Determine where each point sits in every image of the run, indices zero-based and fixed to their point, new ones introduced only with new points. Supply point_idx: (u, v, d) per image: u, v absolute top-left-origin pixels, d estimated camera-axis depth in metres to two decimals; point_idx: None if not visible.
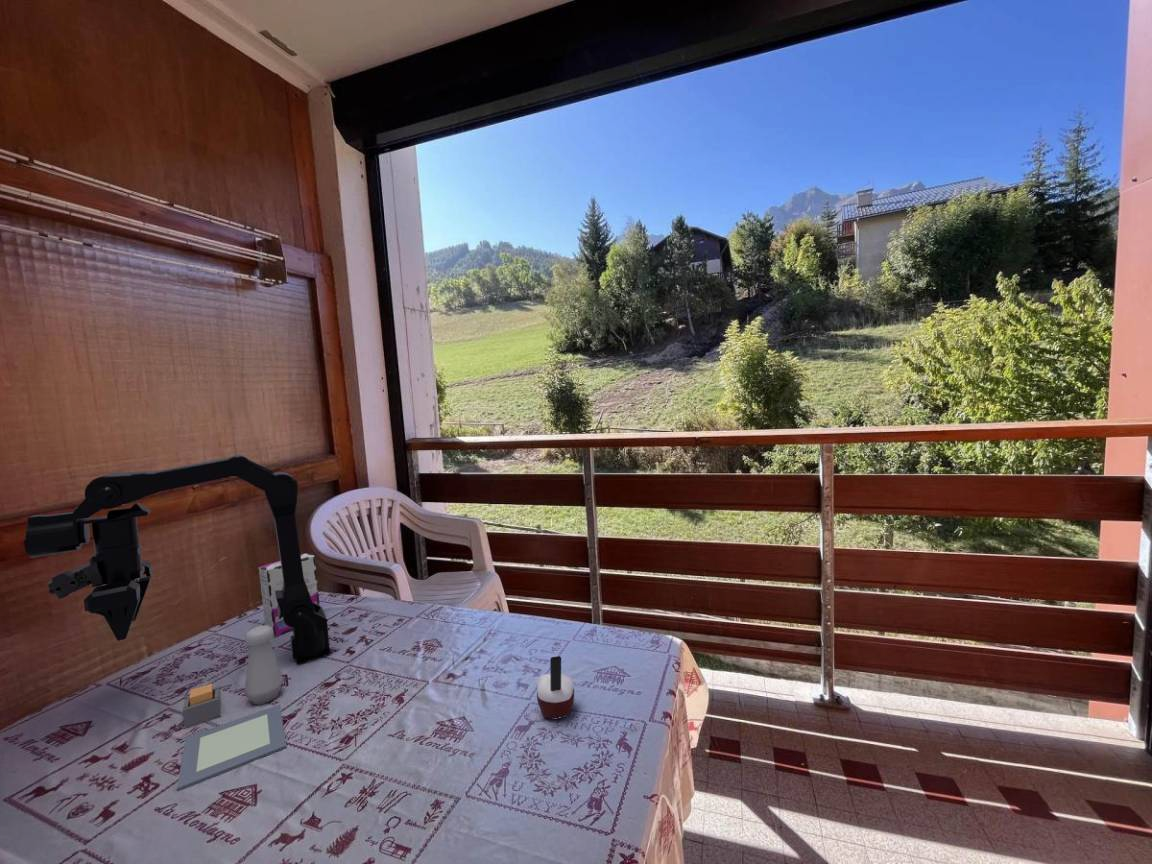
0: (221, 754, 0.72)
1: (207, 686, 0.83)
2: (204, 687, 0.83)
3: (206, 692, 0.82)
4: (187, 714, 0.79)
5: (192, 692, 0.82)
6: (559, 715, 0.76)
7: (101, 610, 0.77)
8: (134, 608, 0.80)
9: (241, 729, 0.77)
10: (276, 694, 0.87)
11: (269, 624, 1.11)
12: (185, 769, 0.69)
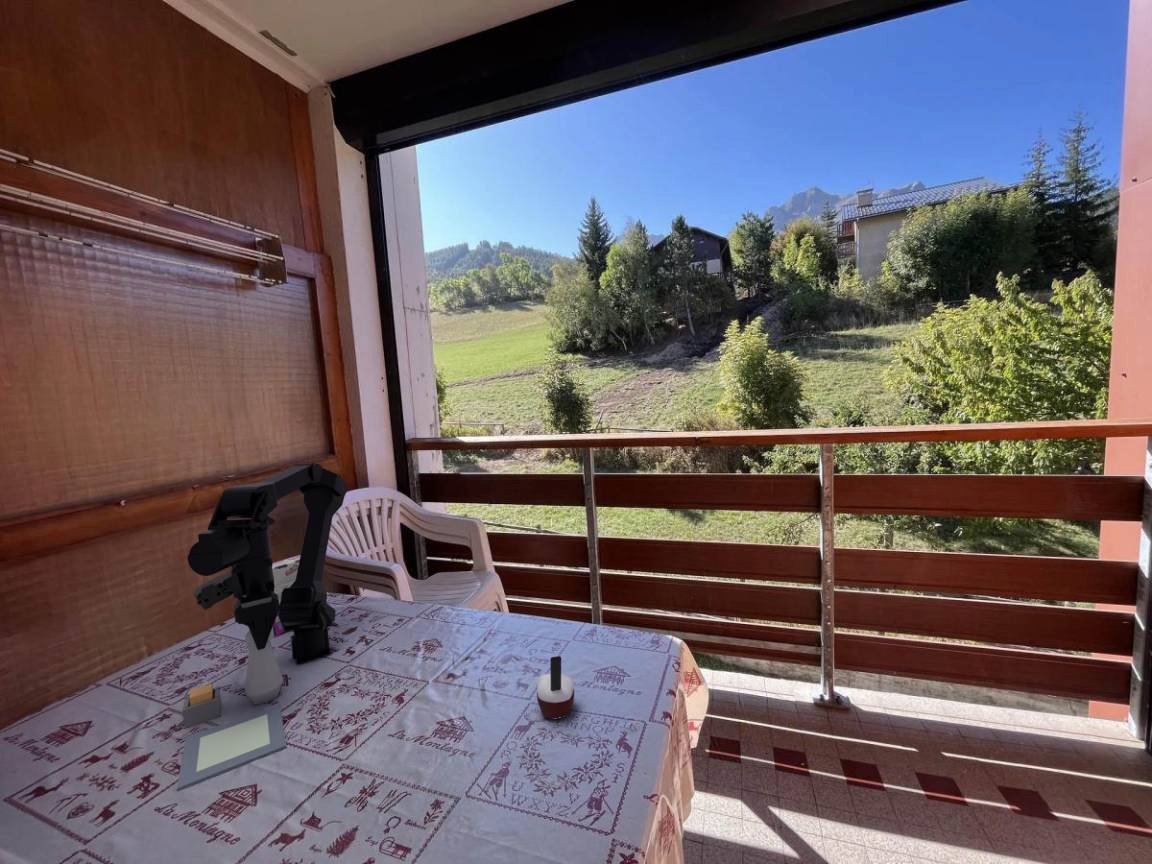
0: (221, 754, 0.72)
1: (207, 686, 0.83)
2: (204, 687, 0.83)
3: (206, 692, 0.82)
4: (187, 714, 0.79)
5: (192, 692, 0.82)
6: (559, 715, 0.76)
7: (248, 620, 0.78)
8: (274, 618, 0.82)
9: (241, 729, 0.77)
10: (276, 694, 0.87)
11: None
12: (185, 769, 0.69)
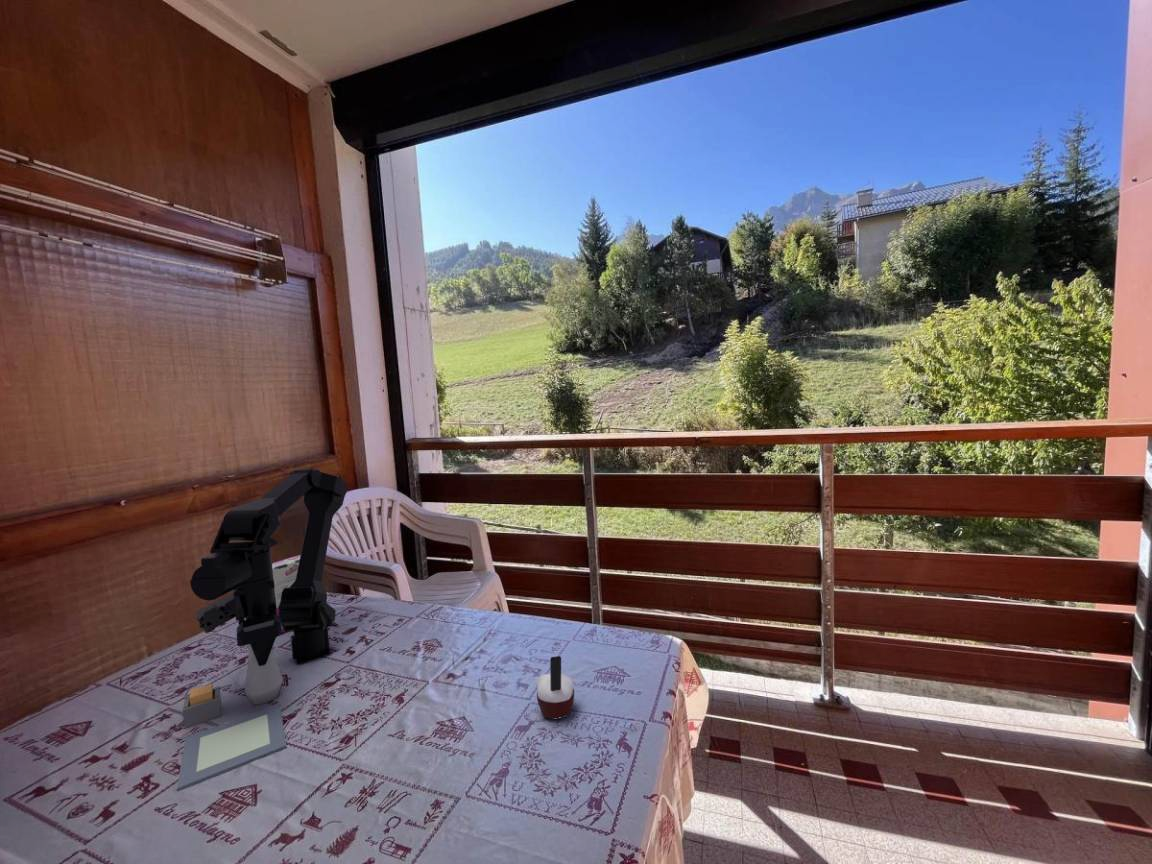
0: (221, 754, 0.72)
1: (207, 686, 0.83)
2: (204, 687, 0.83)
3: (206, 692, 0.82)
4: (187, 714, 0.79)
5: (192, 692, 0.82)
6: (559, 715, 0.76)
7: None
8: None
9: (241, 729, 0.77)
10: (276, 694, 0.87)
11: None
12: (185, 769, 0.69)
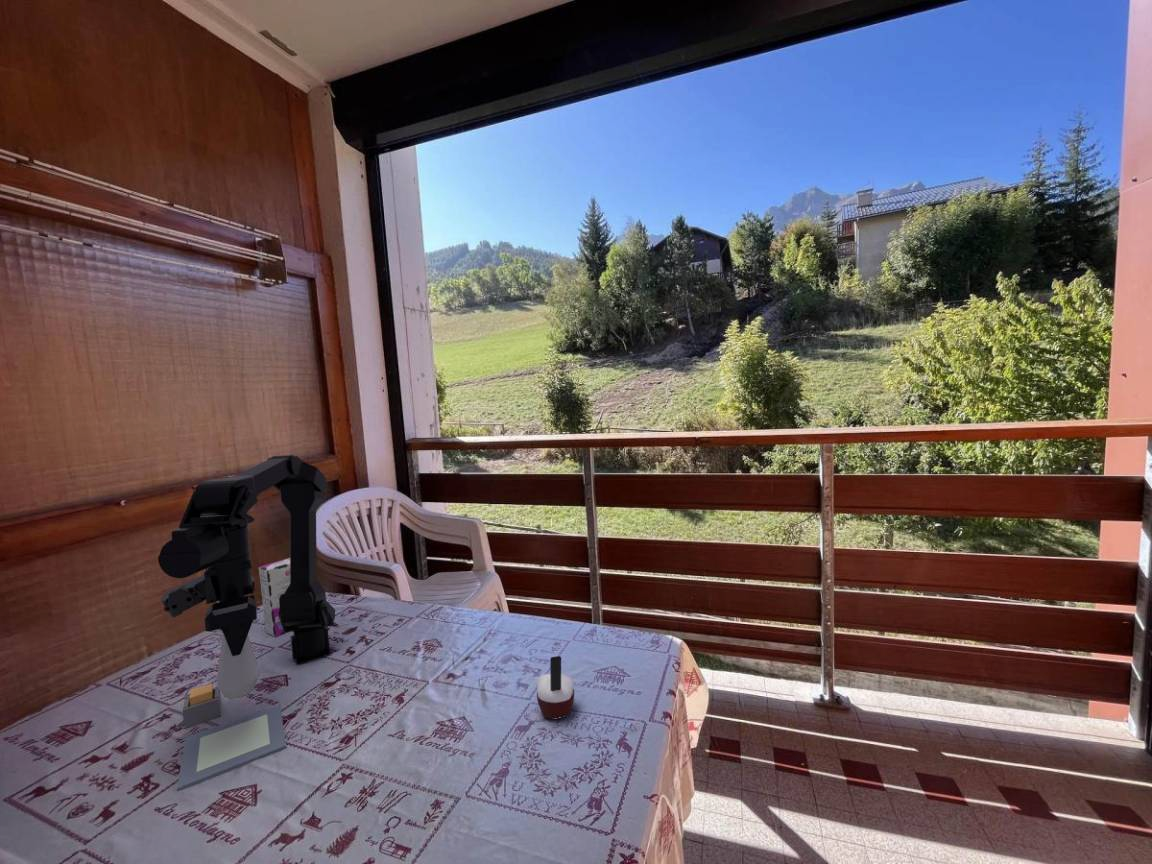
0: (221, 754, 0.72)
1: (207, 686, 0.83)
2: (204, 687, 0.83)
3: (206, 692, 0.82)
4: (187, 714, 0.79)
5: (192, 692, 0.82)
6: (559, 715, 0.76)
7: None
8: (251, 621, 0.75)
9: (241, 729, 0.77)
10: (252, 688, 0.78)
11: (269, 624, 1.11)
12: (185, 769, 0.69)
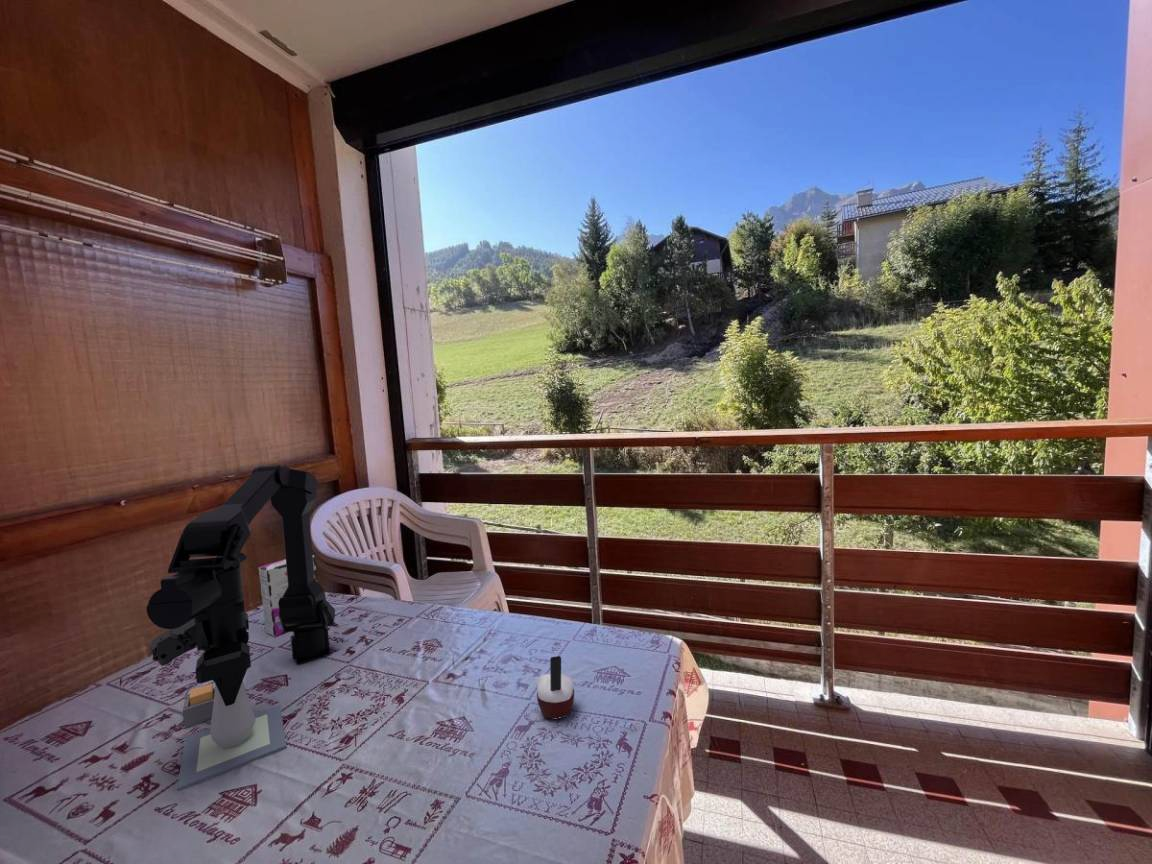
0: (221, 754, 0.72)
1: (207, 686, 0.83)
2: (204, 687, 0.83)
3: (206, 692, 0.82)
4: (187, 714, 0.79)
5: (192, 692, 0.82)
6: (559, 715, 0.76)
7: None
8: (245, 670, 0.71)
9: None
10: (247, 736, 0.75)
11: (269, 624, 1.11)
12: (185, 769, 0.69)
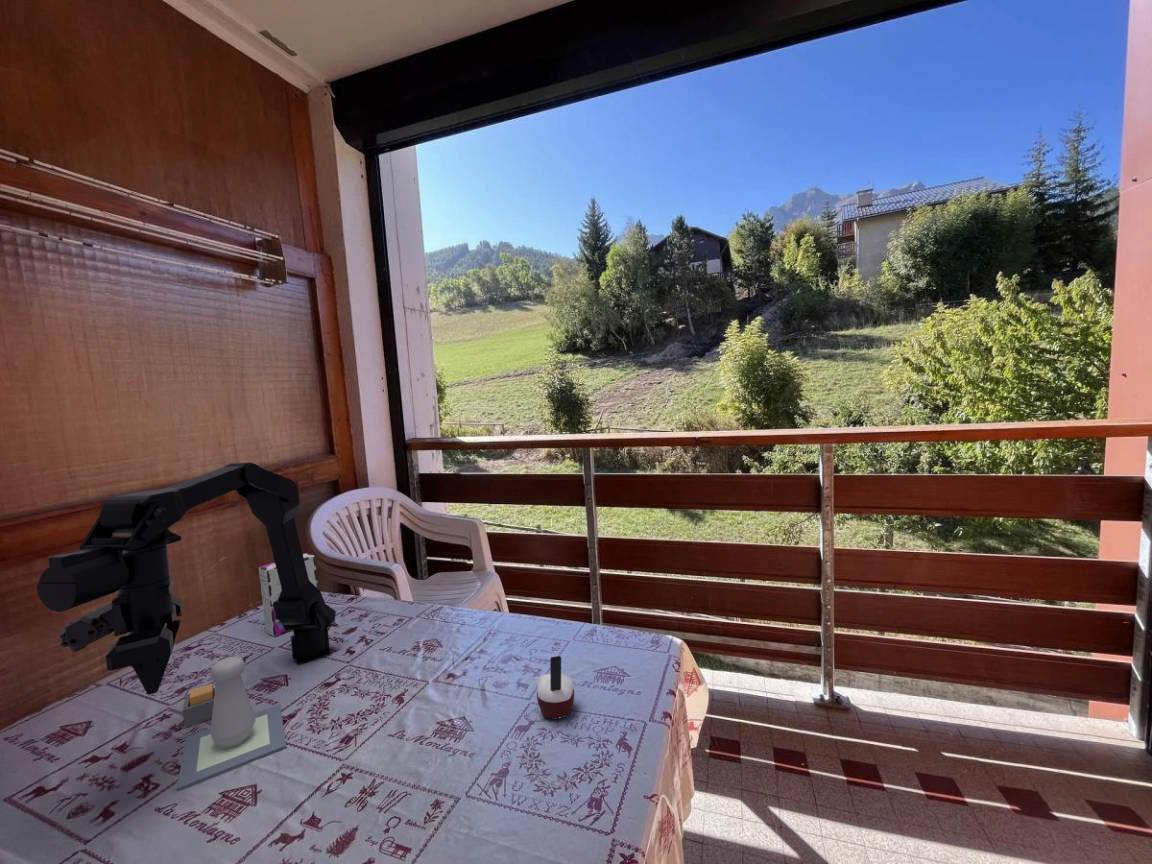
0: (221, 754, 0.72)
1: (207, 686, 0.83)
2: (204, 687, 0.83)
3: (206, 692, 0.82)
4: (187, 714, 0.79)
5: (192, 692, 0.82)
6: (559, 715, 0.76)
7: None
8: (168, 656, 0.67)
9: None
10: (247, 736, 0.75)
11: (269, 624, 1.11)
12: (185, 769, 0.69)
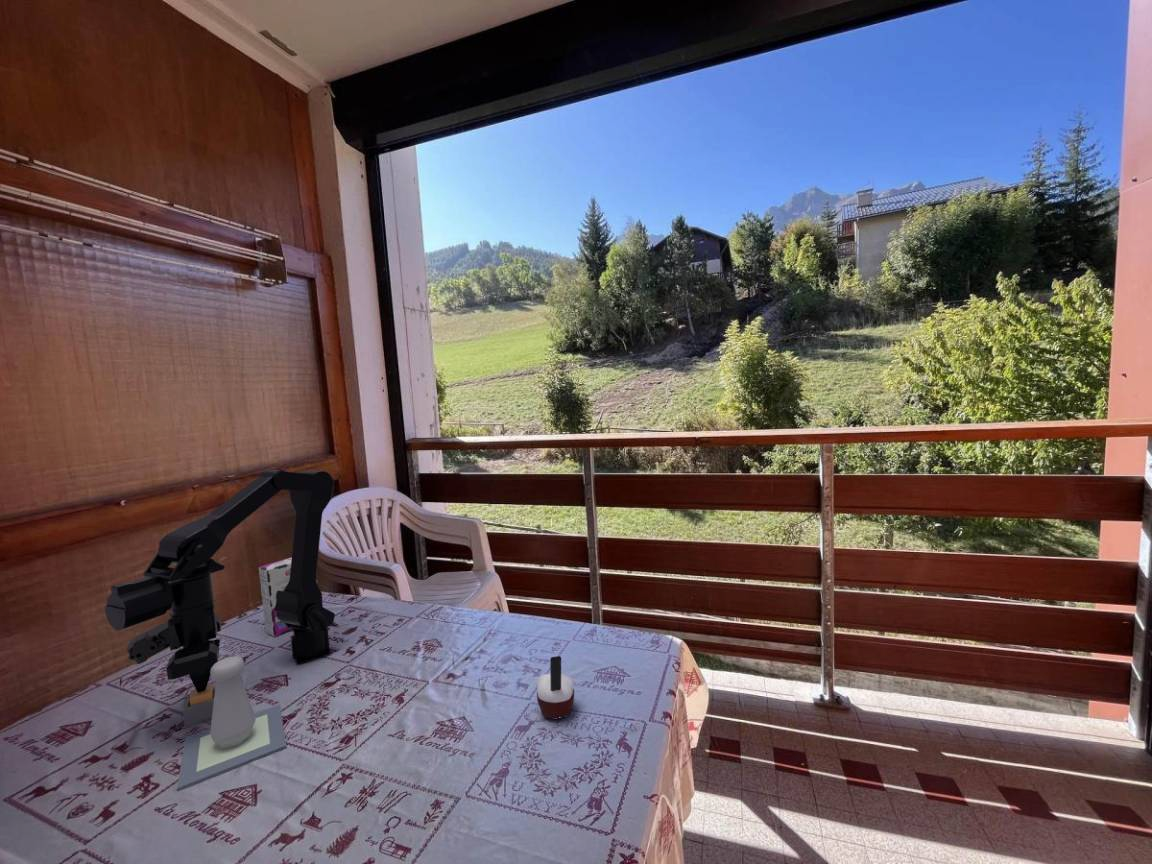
0: (221, 754, 0.72)
1: (207, 686, 0.83)
2: None
3: (206, 692, 0.82)
4: (187, 714, 0.79)
5: (192, 692, 0.82)
6: (559, 715, 0.76)
7: None
8: None
9: None
10: (247, 736, 0.75)
11: (269, 624, 1.11)
12: (185, 769, 0.69)
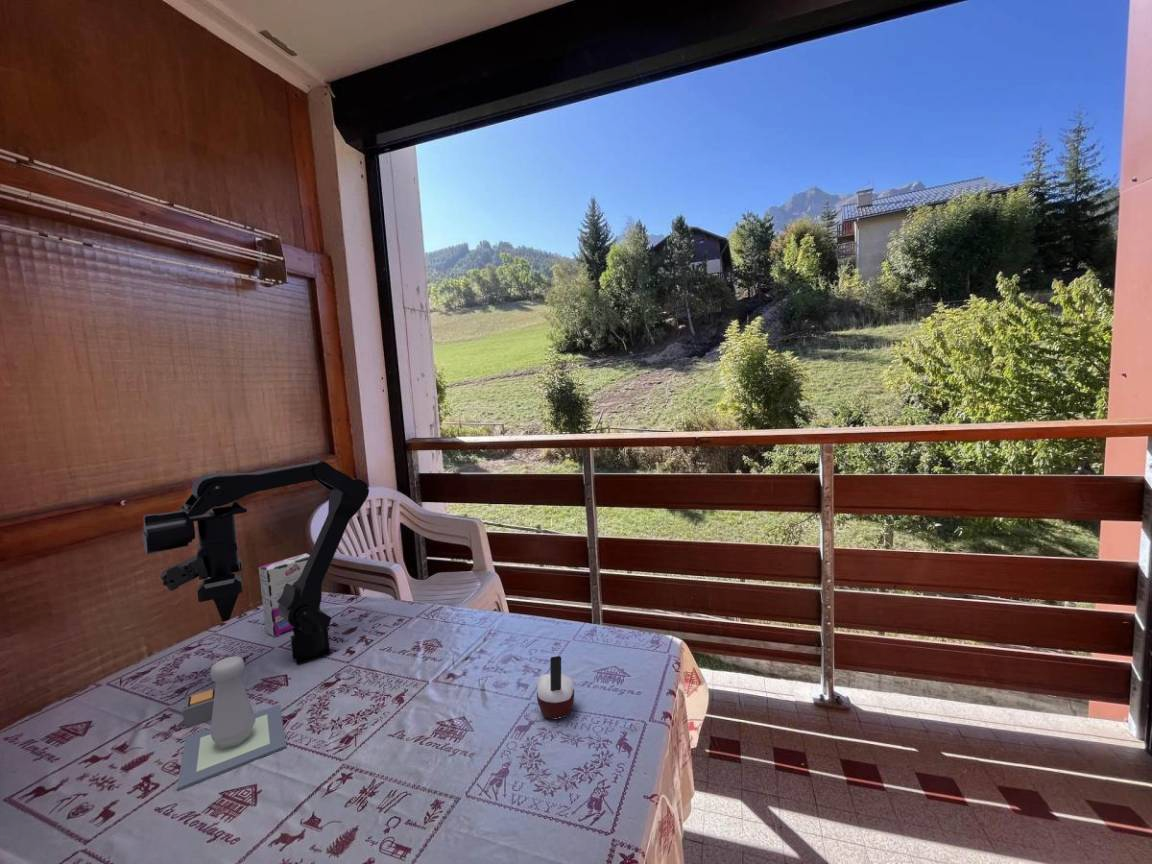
0: (221, 754, 0.72)
1: (208, 692, 0.83)
2: (205, 693, 0.83)
3: (207, 698, 0.82)
4: (187, 714, 0.79)
5: (193, 698, 0.82)
6: (559, 715, 0.76)
7: None
8: None
9: None
10: (247, 736, 0.75)
11: (269, 624, 1.11)
12: (185, 769, 0.69)
